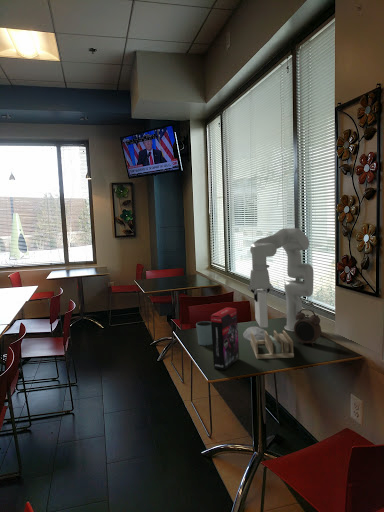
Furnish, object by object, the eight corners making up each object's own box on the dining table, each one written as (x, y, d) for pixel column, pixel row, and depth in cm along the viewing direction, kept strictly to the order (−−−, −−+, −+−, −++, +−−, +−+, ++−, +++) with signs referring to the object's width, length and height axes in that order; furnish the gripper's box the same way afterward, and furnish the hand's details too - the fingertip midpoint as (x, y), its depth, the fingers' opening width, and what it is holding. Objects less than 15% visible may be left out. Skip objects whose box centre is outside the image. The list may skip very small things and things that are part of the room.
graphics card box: (224, 371, 177) (222, 316, 174) (212, 368, 180) (210, 314, 178) (239, 359, 191) (238, 308, 188) (227, 356, 195) (225, 306, 192)
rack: (283, 342, 212) (283, 329, 211) (293, 357, 190) (293, 342, 189) (250, 344, 212) (250, 330, 211) (256, 358, 190) (256, 343, 190)
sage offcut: (271, 345, 209) (270, 335, 209) (280, 355, 193) (280, 344, 193) (267, 345, 209) (266, 335, 208) (276, 356, 193) (276, 345, 193)
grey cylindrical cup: (204, 347, 211) (204, 327, 209) (193, 343, 218) (192, 323, 217) (217, 342, 217) (216, 323, 216) (205, 339, 225) (204, 319, 224)
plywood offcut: (282, 345, 208) (282, 333, 208) (288, 355, 194) (288, 342, 193) (278, 345, 209) (277, 333, 208) (284, 355, 194) (283, 342, 193)
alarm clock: (292, 343, 211) (292, 309, 209) (298, 339, 216) (298, 306, 214) (316, 348, 201) (316, 312, 199) (322, 344, 206) (322, 309, 204)
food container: (258, 329, 239) (257, 319, 238) (278, 343, 215) (277, 332, 214) (237, 334, 235) (236, 324, 234) (254, 349, 211) (253, 338, 210)
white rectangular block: (262, 318, 208) (261, 287, 206) (267, 327, 192) (266, 293, 190) (255, 318, 208) (254, 287, 206) (260, 327, 192) (259, 294, 190)
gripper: (273, 265, 200) (274, 298, 202) (243, 267, 200) (244, 300, 203) (276, 267, 193) (277, 301, 195) (244, 269, 193) (246, 303, 195)
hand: (260, 300), depth 199 cm, fingers closed on white rectangular block, 4 cm apart
